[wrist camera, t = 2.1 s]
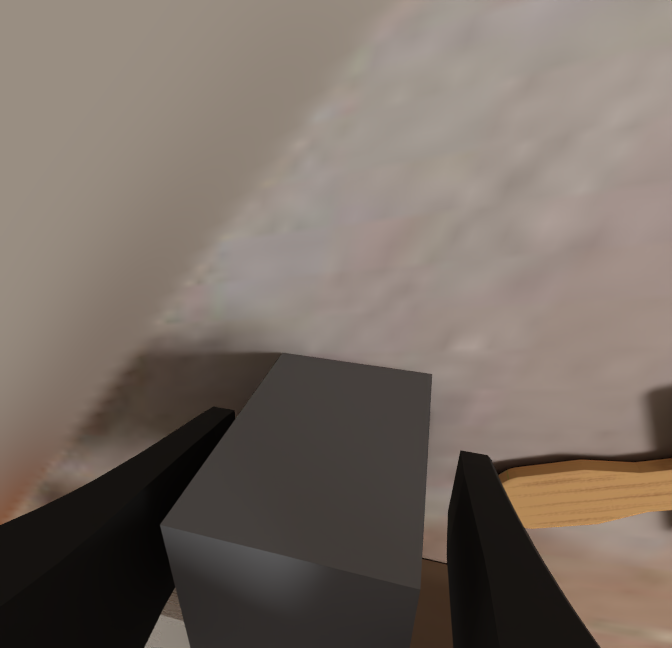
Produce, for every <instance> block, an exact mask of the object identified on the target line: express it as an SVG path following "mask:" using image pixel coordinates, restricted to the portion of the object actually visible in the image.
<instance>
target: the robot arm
mask: <svg viewBox="0 0 672 648" xmlns="http://www.w3.org/2000/svg"><path fill="white" fill-rule="evenodd" d="M234 420H235V412H234V410H230V409H224V408H218V407H212V408H210V409H209V410H207V411H205V412H204V413H202V414H200V415H199V416H197V417H196V418H194V419H193V420H191V421H190V422H188V423H187V424H185V425H183V426H182V427H180V428H179V429H177V430H176V431H174V432H173V433H171V434H170V435H168V436H166V437H165V438H163V439H162V440H160V441H159V442H157V443H155V444H154V445H152V446H151V447H149V448H148V449H146V450H144V451H143V452H141V453H140V454H138V455H136V456H135V457H133V458H131V459H129V460H128V461H126V462H124V463H123V464H121V465H119V466H118V467H116V468H114V469H112V470H111V471H109V472H107V473H106V474H104V475H102V476H100V477H99V478H97V479H95V480H93V481H92V482H90V483H88V484H86V485H84V486H82V487H80V488H78V489H77V490H75V491H73V492H71V493H69V494H67V495H65V496H63V497H61V498H59V499H57V500H55V501H53V502H51V503H49V504H47V505H44V506H42V507H40V508H38V509H36V510H34V511H32V512H29V513H27V514H25V515H22V516H20V517H18V518H16V519H13V520H11V521H9V522H6V523H4V524H2V525H0V648H145V645H146V643H147V641H148V639H149V637H150V635H151V633H152V631H153V629H154V627H155V625H156V623H157V621H158V619H159V617H160V615H161V613H162V611H163V609H164V607H165V605H166V603H167V601H168V599H169V598H170V596H171V594H172V592H173V590H174V589H175V584H174V580H173V576H172V572H171V567H170V563H169V559H168V555H167V551H166V547H165V543H164V539H163V535H162V531H161V527H160V524H161V523H162V521H163V520H164V519H165V517H166V516H167V514H168V513H169V512H170V510H171V509H172V507H173V506H174V505H175V503H176V502H177V500H178V499H179V497H180V496H181V495H182V493H183V492H184V490H185V489H186V488H187V486H188V485H189V483H190V482H191V481H192V479H193V478H194V476H195V475H196V474H197V472H198V471H199V469H200V468H201V467H202V465H203V464H204V462H205V461H206V460H207V458H208V457H209V455H210V454H211V453H212V451H213V450H214V448H215V447H216V446H217V444H218V443H219V441H220V440H221V439H222V437H223V436H224V434H225V433H226V432H227V430H228V429H229V427H230V426H231V425H232V423H233V422H234ZM447 567H448V582H449V596H450V610H451V624H452V638H453V648H600V646H599V645H598V643H597V642H596V641H595V639H594V638H593V636H592V635H591V633H590V632H589V631H588V629H587V628H586V626H585V625H584V624H583V622H582V621H581V619H580V618H579V616H578V615H577V613H576V612H575V610H574V609H573V607H572V606H571V604H570V603H569V601H568V600H567V598H566V597H565V595H564V593H563V592H562V590H561V589H560V587H559V586H558V584H557V582H556V581H555V579H554V577H553V576H552V574H551V573H550V571H549V569H548V568H547V566H546V565H545V563H544V561H543V559H542V558H541V556H540V554H539V553H538V551H537V549H536V548H535V546H534V544H533V542H532V540H531V539H530V537H529V535H528V533H527V531H526V530H525V528H524V526H523V524H522V522H521V521H520V519H519V517H518V515H517V513H516V511H515V509H514V507H513V505H512V503H511V501H510V499H509V497H508V495H507V493H506V491H505V489H504V487H503V485H502V483H501V481H500V478H499V476H498V474H497V472H496V469H495V467H494V465H493V462H492V460H491V459H490V457H489V456H488V455H483V454H477V453H472V452H466V451H460V456H459V461H458V466H457V470H456V475H455V480H454V485H453V490H452V495H451V500H450V504H449V509H448V528H447Z"/></svg>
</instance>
